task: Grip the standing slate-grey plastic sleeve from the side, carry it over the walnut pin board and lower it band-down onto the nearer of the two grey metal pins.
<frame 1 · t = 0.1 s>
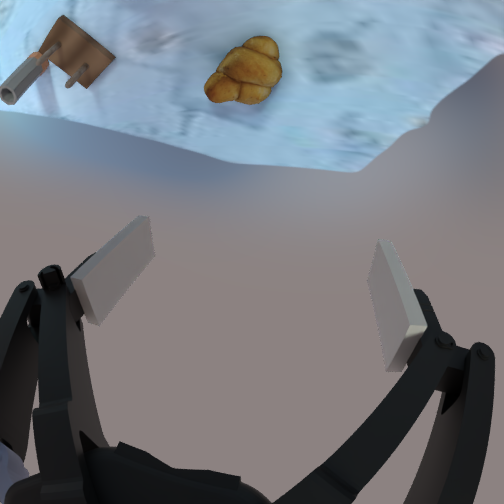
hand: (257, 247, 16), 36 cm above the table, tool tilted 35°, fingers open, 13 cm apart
pin board: (76, 50, 35), on the table
bread roll: (254, 62, 39), on the table
sleeve: (39, 61, 35), on the table
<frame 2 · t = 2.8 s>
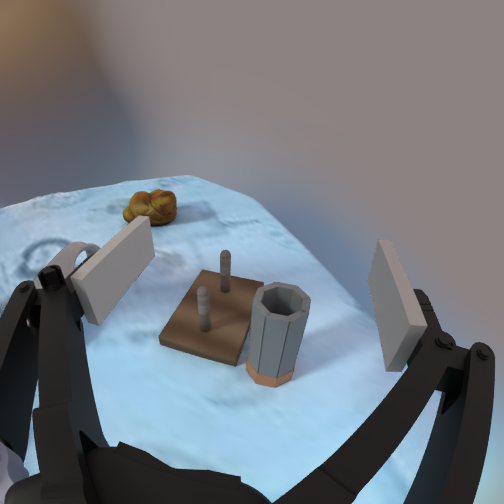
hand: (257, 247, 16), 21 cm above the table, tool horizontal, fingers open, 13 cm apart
pin board: (216, 315, 39), on the table
spoon rest: (65, 305, 38), on the table
bread roll: (151, 220, 63), on the table
sleeve: (270, 367, 32), on the table
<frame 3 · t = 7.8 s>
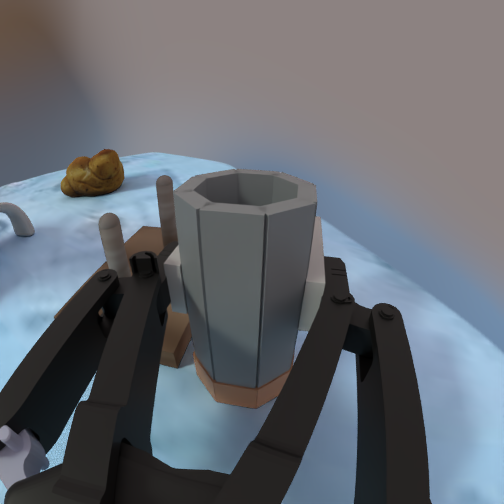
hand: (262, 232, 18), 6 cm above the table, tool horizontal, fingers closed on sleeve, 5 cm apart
pin board: (154, 285, 23), on the table
bread roll: (94, 192, 46), on the table
sleeve: (245, 368, 16), on the table, touching gripper
when the fingers open (9 cm above the table, at t = 11.9 s): sleeve drops 1 cm, resting on pin board.
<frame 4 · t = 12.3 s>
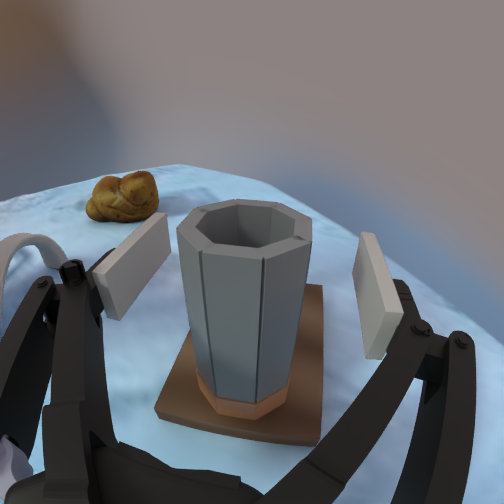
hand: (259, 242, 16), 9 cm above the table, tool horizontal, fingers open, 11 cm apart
pin board: (255, 350, 21), on the table
spoon rest: (4, 327, 21), on the table
bread roll: (125, 216, 44), on the table
sleeve: (244, 382, 17), point 1 cm above the table, touching pin board
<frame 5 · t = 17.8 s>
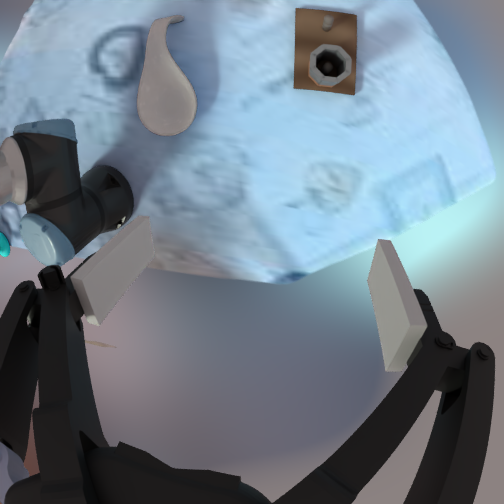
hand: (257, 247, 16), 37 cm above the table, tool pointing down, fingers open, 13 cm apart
pin board: (325, 50, 37), on the table
spoon rest: (173, 74, 44), on the table
sleeve: (325, 71, 38), point 1 cm above the table, touching pin board
donuts: (4, 242, 77), on the table
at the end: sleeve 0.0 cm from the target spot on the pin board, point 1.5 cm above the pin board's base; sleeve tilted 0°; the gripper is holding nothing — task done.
